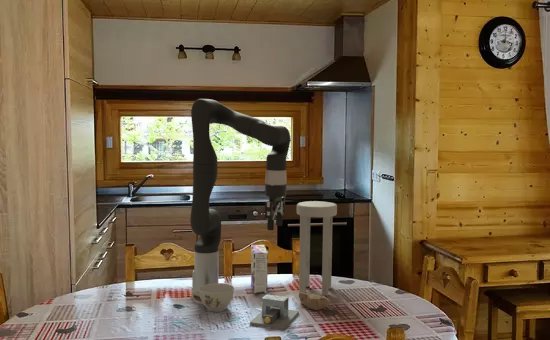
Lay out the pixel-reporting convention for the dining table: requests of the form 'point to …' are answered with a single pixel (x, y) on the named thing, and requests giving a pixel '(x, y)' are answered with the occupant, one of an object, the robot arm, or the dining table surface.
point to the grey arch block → (275, 305)
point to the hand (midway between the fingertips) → (274, 227)
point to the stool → (306, 212)
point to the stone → (314, 301)
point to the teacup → (215, 296)
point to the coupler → (274, 319)
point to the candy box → (259, 268)
